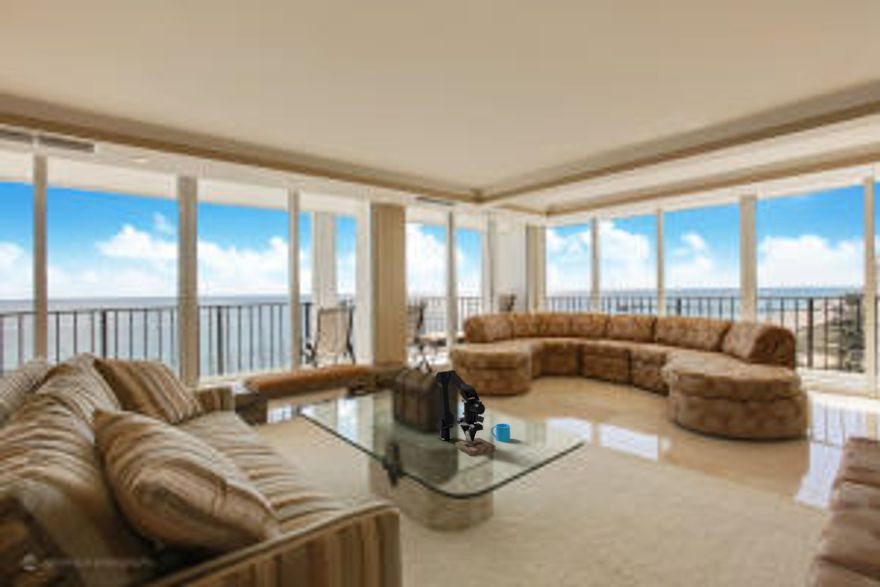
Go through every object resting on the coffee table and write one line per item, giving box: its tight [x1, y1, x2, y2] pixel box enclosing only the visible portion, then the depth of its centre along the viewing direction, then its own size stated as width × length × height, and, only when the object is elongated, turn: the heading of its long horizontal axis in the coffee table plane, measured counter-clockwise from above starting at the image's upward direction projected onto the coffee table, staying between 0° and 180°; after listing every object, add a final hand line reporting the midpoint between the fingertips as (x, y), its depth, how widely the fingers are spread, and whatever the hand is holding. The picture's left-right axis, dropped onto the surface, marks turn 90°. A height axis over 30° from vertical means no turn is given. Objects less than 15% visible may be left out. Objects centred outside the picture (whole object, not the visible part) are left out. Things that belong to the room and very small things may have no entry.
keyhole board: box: [454, 437, 497, 457], centre depth 228 cm, size 16×16×2 cm
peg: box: [465, 430, 476, 448], centre depth 227 cm, size 5×5×9 cm
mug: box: [490, 423, 511, 443], centre depth 243 cm, size 12×8×8 cm
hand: (470, 439), depth 227 cm, fingers closed on peg, 5 cm apart
